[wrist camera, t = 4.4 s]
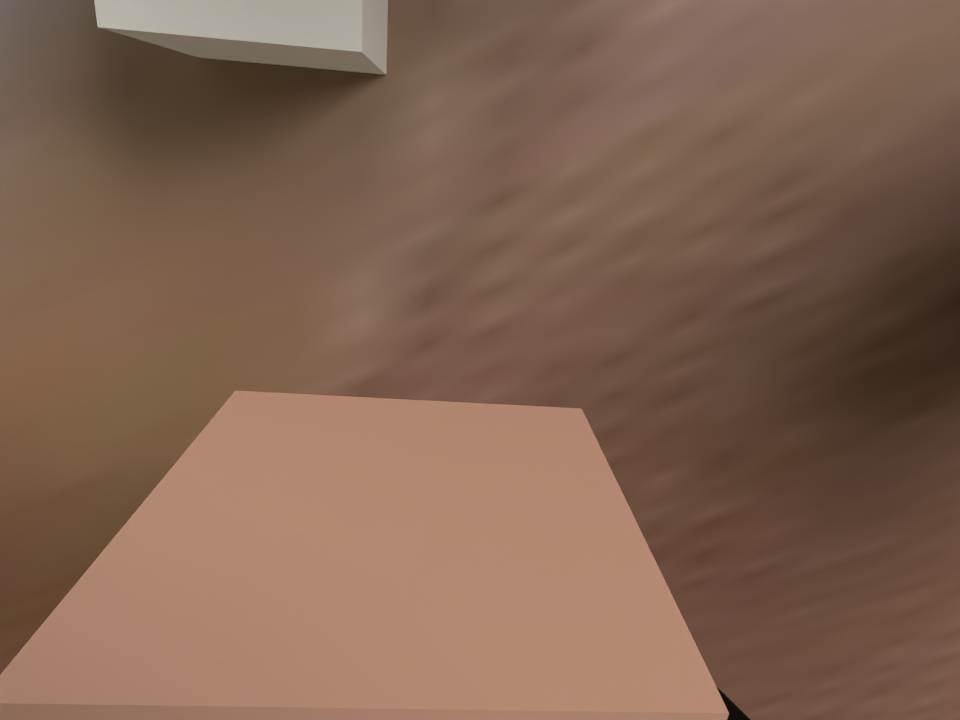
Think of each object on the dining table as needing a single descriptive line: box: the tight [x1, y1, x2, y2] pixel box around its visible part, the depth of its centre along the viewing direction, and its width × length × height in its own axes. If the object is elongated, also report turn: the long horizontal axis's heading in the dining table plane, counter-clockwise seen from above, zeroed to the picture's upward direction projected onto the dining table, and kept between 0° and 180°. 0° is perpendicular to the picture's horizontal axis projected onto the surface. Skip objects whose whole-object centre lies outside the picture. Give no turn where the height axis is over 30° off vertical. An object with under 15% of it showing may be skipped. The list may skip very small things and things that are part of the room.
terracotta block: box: [0, 391, 729, 720], centre depth 7 cm, size 5×5×5 cm
